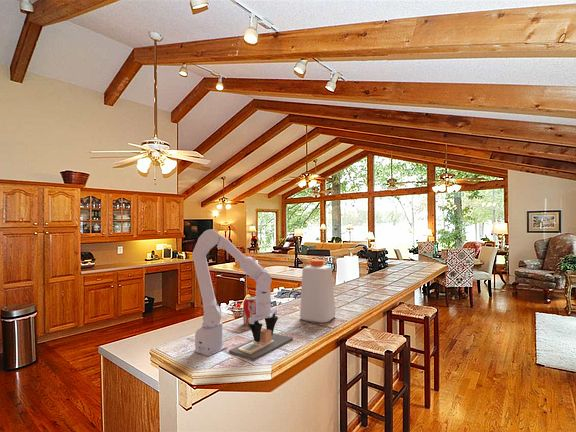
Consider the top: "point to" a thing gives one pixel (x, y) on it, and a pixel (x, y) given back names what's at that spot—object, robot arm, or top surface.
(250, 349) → the photo frame
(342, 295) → the top surface
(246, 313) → the soda can
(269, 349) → the mat
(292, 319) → the top surface
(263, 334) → the stub
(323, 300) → the plastic bottle
